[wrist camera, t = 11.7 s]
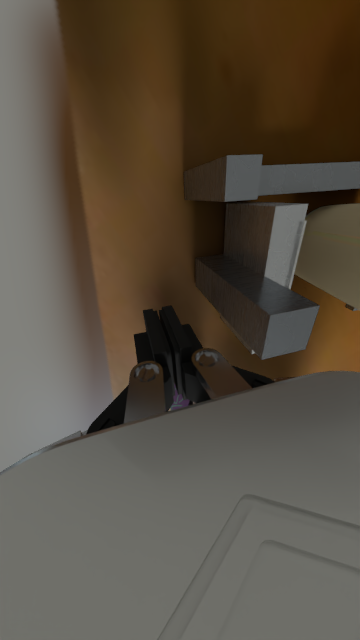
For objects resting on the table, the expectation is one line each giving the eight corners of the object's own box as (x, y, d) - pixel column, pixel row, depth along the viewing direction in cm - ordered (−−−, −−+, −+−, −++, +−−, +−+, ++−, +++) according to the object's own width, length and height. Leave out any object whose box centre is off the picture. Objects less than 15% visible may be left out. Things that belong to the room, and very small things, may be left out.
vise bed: (361, 303, 31) (428, 332, 24) (189, 338, 26) (215, 388, 19) (425, 161, 22) (559, 145, 15) (183, 171, 17) (227, 155, 10)
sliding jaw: (239, 313, 25) (319, 388, 16) (196, 322, 24) (251, 408, 14) (252, 201, 19) (398, 206, 9) (194, 205, 18) (290, 216, 8)
